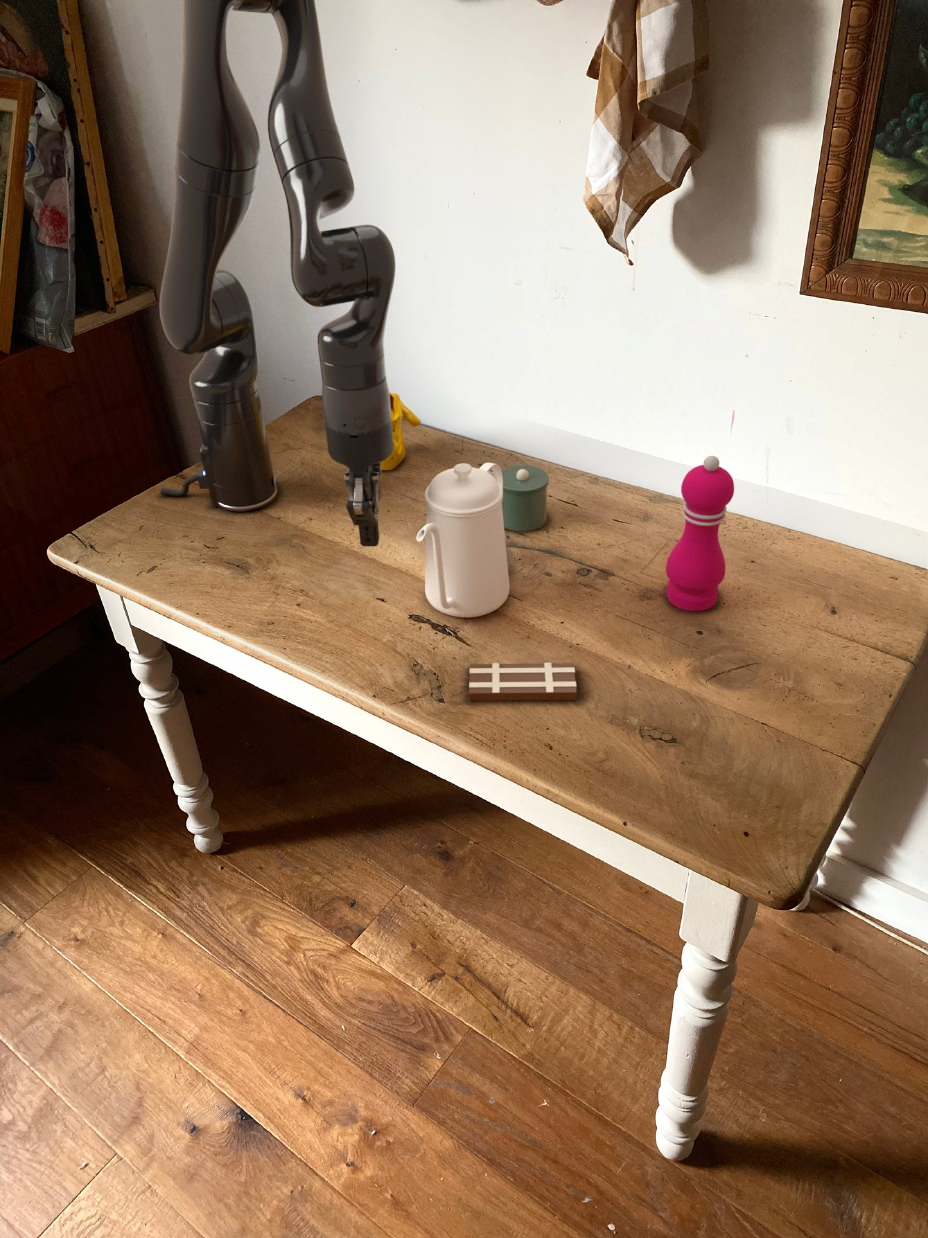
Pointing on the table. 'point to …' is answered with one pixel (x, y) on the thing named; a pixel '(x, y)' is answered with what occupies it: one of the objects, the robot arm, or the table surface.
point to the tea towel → (522, 682)
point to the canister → (524, 497)
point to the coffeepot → (465, 541)
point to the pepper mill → (700, 538)
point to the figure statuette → (398, 431)
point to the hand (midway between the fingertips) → (370, 543)
